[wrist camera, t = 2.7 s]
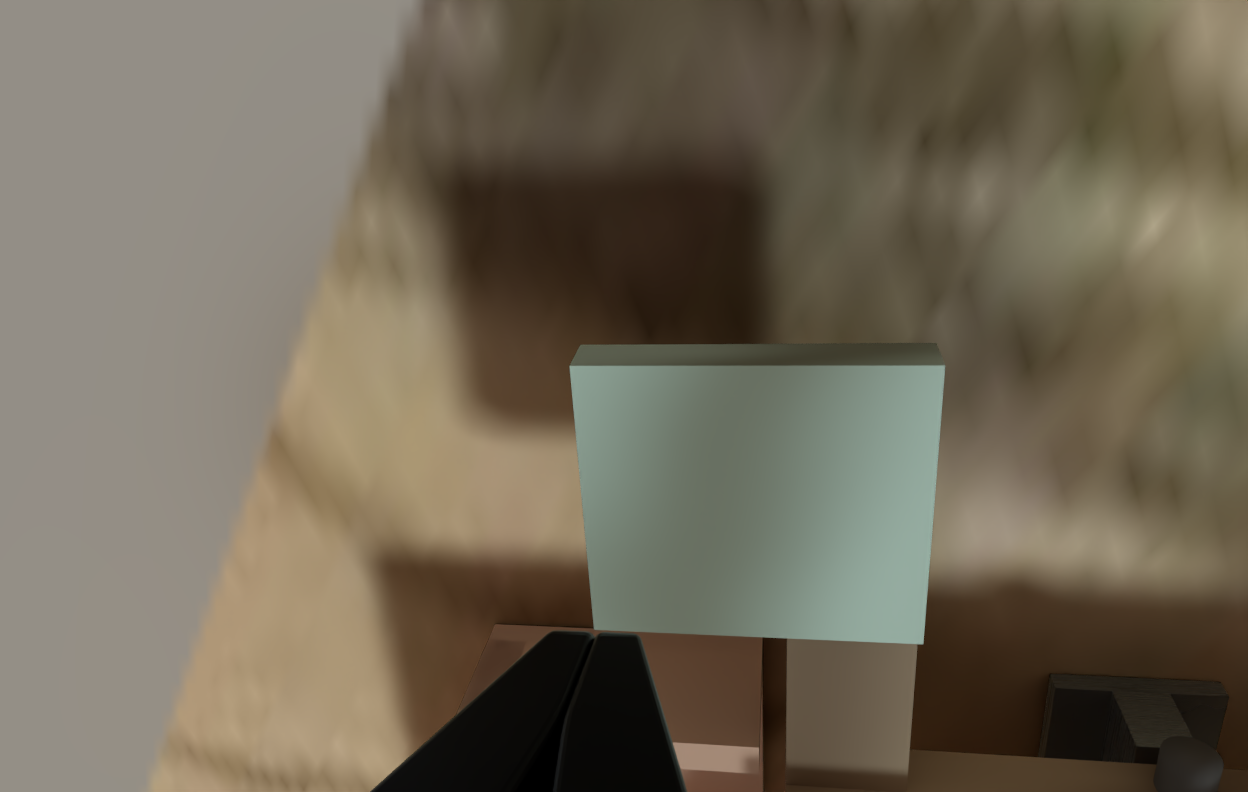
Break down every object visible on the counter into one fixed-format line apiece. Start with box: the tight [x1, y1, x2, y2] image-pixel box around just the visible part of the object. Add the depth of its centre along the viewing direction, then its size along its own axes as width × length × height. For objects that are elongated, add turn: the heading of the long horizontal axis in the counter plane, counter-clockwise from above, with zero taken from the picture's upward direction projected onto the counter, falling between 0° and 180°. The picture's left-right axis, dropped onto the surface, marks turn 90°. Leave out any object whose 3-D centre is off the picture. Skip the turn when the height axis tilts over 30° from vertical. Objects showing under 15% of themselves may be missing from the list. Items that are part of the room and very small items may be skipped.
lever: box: [569, 343, 1248, 792], centre depth 15 cm, size 15×14×2 cm
